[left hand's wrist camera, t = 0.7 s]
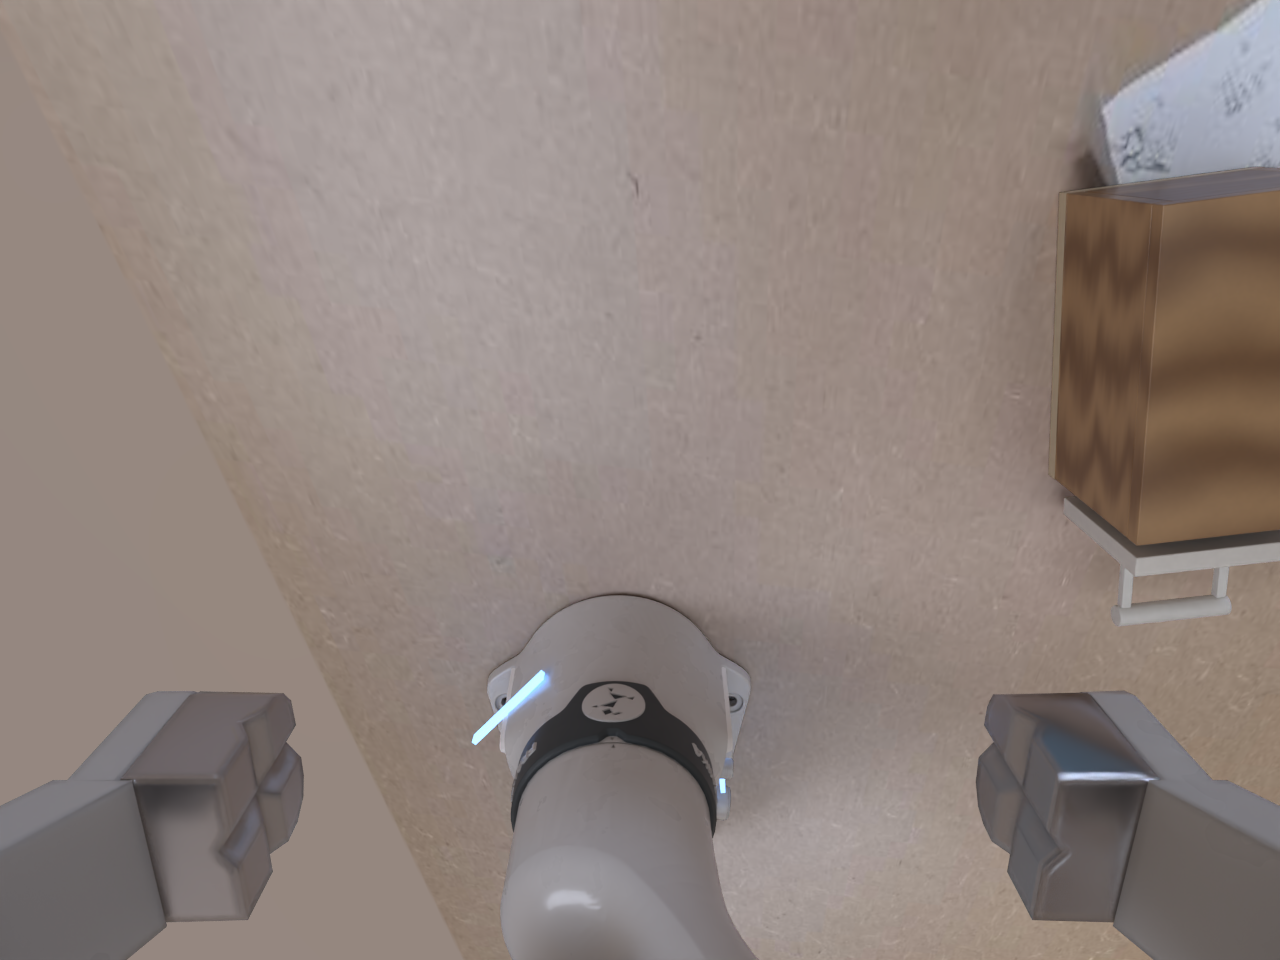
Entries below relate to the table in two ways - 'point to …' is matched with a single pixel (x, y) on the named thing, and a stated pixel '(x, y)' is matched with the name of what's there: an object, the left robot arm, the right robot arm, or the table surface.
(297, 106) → the table surface
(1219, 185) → the cabinet
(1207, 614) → the drawer
